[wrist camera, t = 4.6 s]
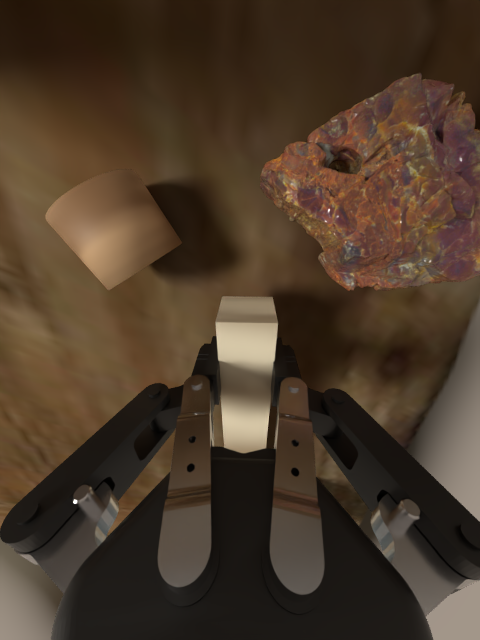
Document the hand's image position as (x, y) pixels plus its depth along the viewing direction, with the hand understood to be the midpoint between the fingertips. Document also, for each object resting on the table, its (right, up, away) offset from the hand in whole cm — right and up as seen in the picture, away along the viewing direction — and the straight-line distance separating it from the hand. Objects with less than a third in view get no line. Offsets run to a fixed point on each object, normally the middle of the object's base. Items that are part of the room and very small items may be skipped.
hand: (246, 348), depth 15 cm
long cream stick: (0, -6, +4) cm, 8 cm away
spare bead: (-7, +8, 0) cm, 10 cm away
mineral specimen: (+7, +9, -1) cm, 11 cm away
